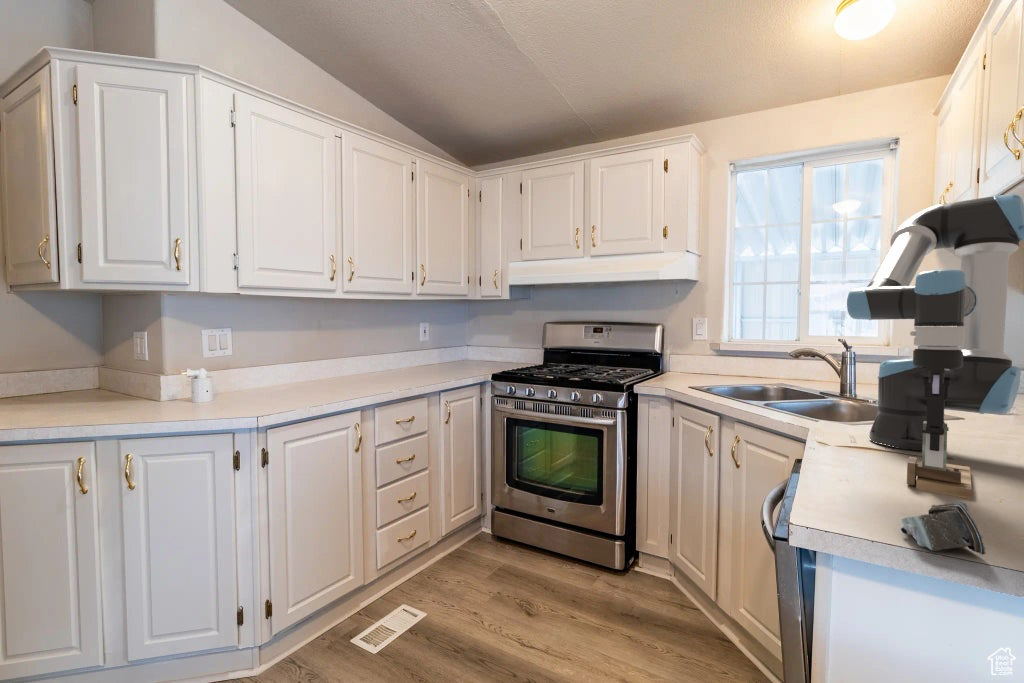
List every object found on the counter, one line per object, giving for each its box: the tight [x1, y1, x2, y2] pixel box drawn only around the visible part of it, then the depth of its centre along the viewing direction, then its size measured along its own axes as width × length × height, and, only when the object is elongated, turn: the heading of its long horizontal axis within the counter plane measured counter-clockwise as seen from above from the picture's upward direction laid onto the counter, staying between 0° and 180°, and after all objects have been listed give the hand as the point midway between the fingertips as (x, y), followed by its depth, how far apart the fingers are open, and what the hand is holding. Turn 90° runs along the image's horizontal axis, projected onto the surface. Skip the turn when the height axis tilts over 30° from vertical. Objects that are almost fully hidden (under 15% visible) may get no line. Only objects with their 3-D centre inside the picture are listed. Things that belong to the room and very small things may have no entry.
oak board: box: [915, 461, 973, 500], centre depth 101 cm, size 20×8×2 cm, turn 137°
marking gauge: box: [906, 421, 961, 486], centre depth 97 cm, size 6×8×12 cm
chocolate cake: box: [900, 501, 986, 556], centre depth 73 cm, size 10×7×12 cm
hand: (934, 464), depth 97 cm, fingers closed on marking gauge, 3 cm apart
